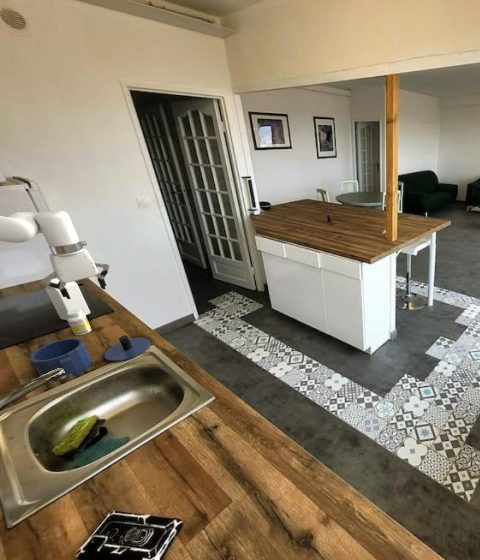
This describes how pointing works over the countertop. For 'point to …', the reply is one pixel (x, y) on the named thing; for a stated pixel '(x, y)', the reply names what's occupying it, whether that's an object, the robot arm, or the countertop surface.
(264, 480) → the countertop surface
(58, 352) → the pot
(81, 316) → the supplement bottle
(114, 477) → the countertop surface
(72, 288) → the milk carton
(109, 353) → the pot lid
